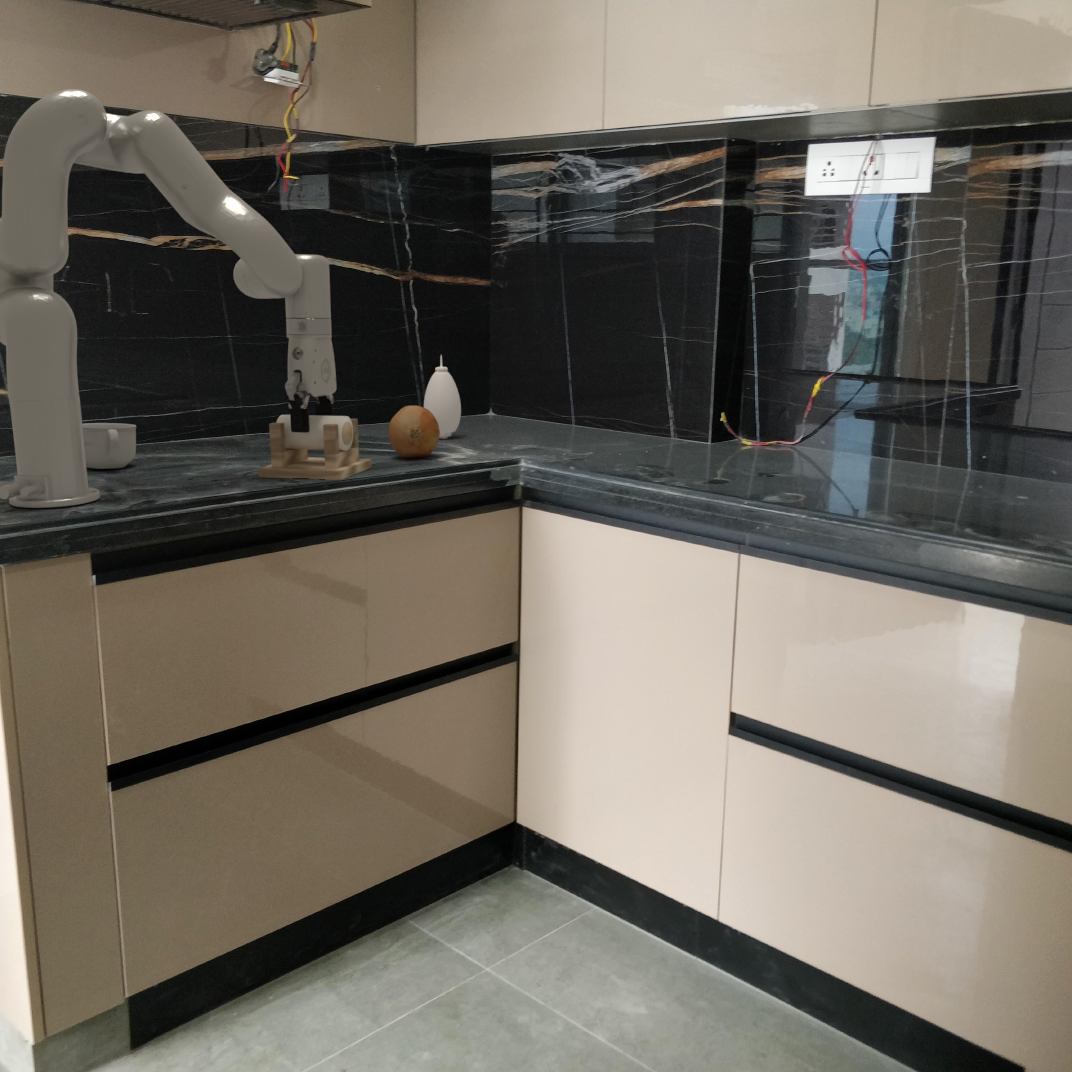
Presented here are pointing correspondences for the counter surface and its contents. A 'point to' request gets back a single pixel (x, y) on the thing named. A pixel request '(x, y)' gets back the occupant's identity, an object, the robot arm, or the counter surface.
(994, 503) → the counter surface
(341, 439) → the towel roll
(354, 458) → the roll holder
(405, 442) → the orange
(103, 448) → the teacup
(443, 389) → the sauce bottle
